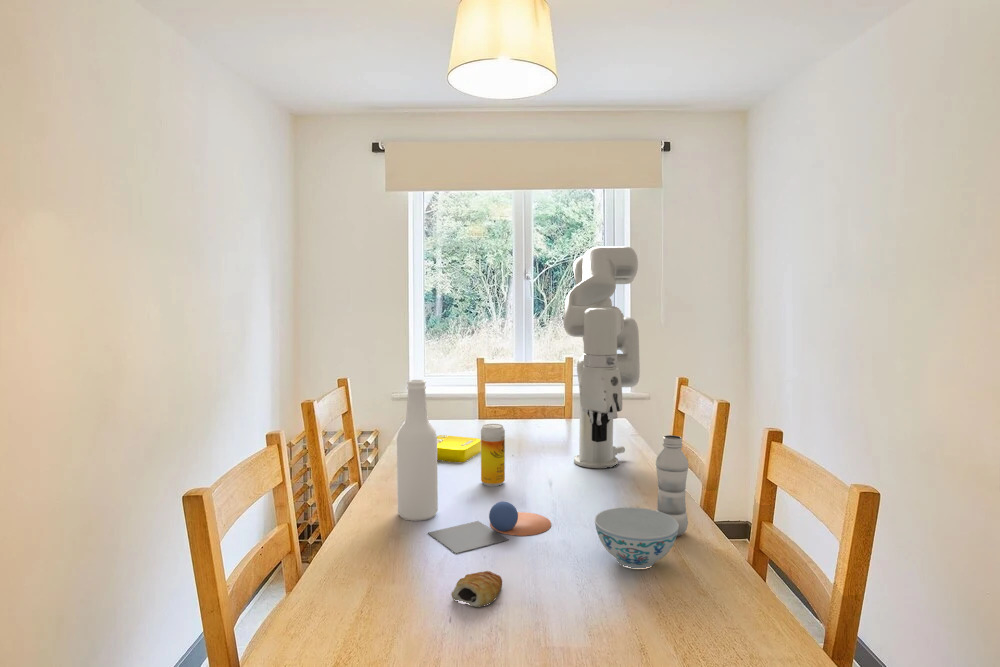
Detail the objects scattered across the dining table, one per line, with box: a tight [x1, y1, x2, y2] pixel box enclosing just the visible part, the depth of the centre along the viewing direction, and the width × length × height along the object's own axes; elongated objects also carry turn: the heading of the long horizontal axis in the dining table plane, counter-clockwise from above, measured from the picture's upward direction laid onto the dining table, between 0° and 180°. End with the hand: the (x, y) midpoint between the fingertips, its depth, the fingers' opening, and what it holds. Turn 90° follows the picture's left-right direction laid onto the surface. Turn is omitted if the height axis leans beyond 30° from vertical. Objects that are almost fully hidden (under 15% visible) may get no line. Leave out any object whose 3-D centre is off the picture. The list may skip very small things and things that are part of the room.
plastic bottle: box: [655, 434, 689, 537], centre depth 129 cm, size 6×7×20 cm
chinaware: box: [594, 506, 679, 568], centre depth 116 cm, size 15×15×8 cm
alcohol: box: [396, 379, 439, 522], centre depth 140 cm, size 9×9×30 cm
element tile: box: [437, 434, 481, 463], centre depth 192 cm, size 15×15×5 cm
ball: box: [488, 500, 518, 531], centre depth 131 cm, size 6×6×6 cm
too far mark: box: [427, 520, 510, 555], centre depth 128 cm, size 12×12×1 cm
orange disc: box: [489, 511, 552, 537], centre depth 135 cm, size 13×13×1 cm
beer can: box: [480, 423, 506, 487], centre depth 163 cm, size 6×6×15 cm
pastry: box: [451, 570, 503, 608], centre depth 104 cm, size 9×7×4 cm
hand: (599, 440), depth 146 cm, fingers closed
